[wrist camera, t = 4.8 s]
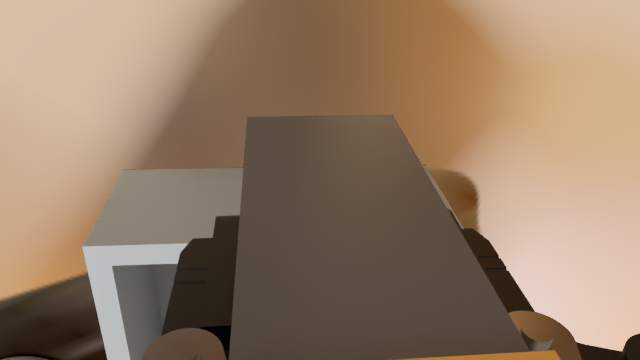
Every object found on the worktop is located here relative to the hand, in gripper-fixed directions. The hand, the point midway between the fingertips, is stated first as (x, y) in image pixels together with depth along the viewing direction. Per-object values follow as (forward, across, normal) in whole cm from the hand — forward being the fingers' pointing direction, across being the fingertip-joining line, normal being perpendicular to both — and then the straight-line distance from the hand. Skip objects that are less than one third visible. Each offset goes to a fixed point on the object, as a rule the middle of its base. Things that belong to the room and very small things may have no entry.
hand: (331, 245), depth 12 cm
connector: (+3, 0, 0) cm, 3 cm away
